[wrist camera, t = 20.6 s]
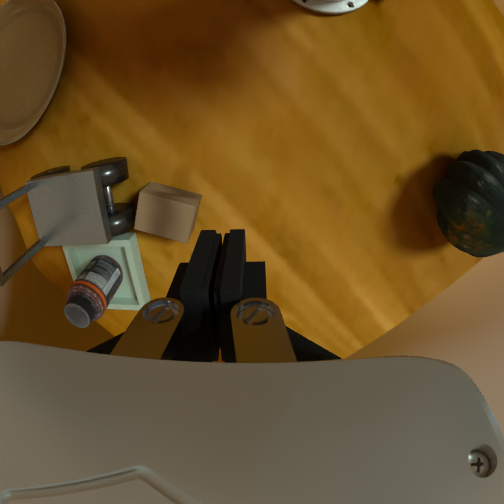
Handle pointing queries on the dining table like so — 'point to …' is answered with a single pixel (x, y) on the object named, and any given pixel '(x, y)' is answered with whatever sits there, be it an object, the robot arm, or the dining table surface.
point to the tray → (127, 255)
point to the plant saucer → (28, 63)
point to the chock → (167, 211)
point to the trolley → (74, 207)
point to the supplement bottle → (93, 290)
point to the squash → (473, 203)
